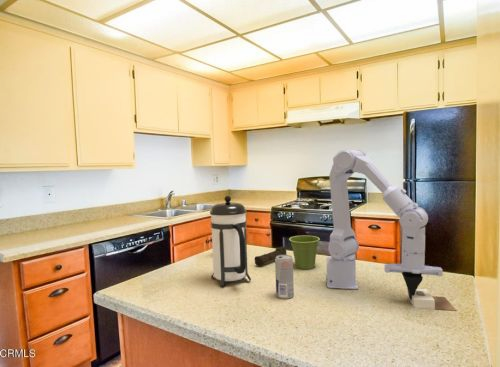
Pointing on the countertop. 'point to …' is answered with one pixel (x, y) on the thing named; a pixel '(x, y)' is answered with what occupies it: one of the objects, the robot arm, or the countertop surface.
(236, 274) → the coffee press
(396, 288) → the countertop surface
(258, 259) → the hand tool
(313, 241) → the plant pot
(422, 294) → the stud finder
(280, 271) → the energy drink
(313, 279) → the countertop surface
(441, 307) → the brown flat slab
